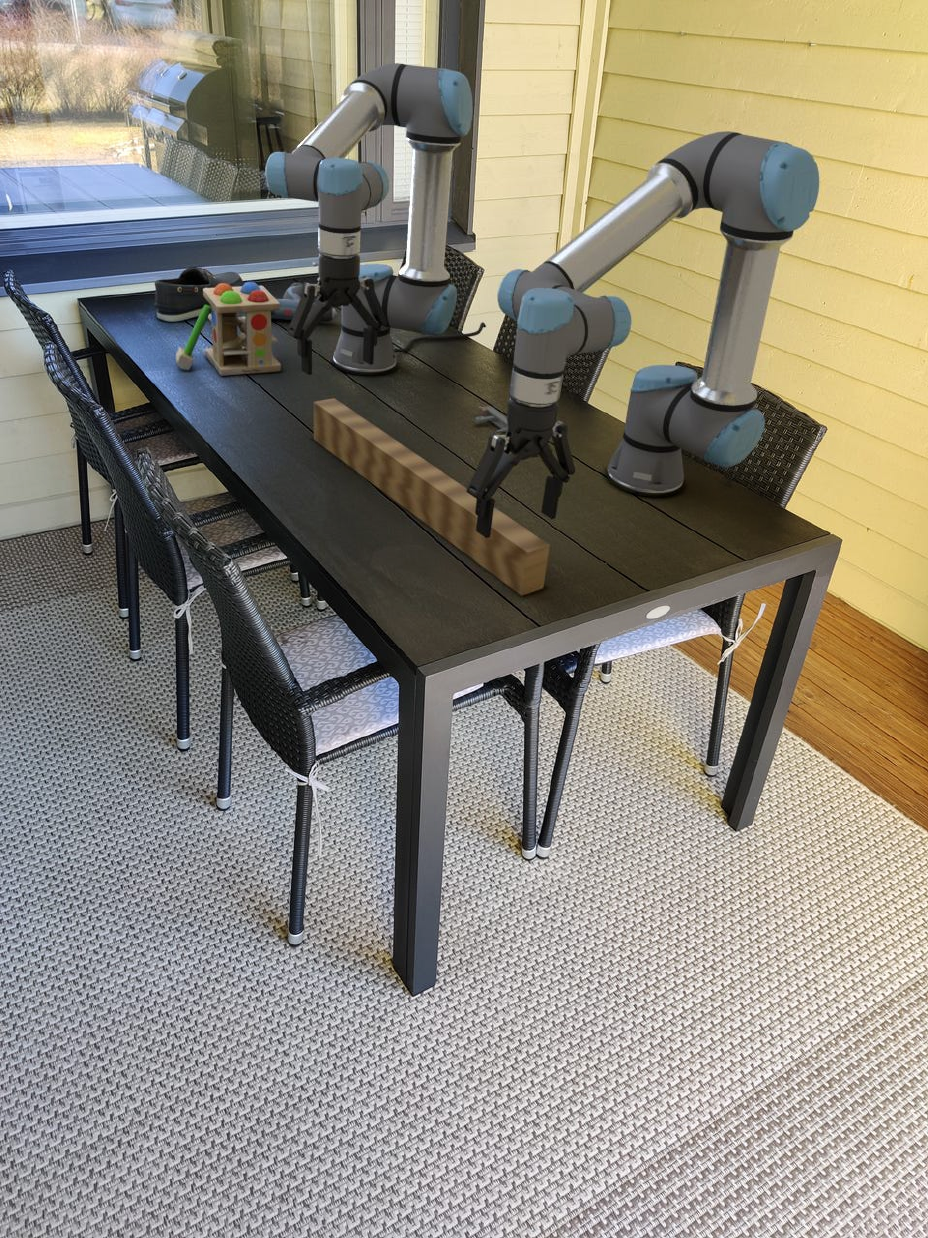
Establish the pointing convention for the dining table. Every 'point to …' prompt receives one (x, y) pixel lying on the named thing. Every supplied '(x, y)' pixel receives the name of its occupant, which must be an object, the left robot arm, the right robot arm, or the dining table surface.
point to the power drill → (291, 303)
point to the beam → (432, 497)
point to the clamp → (492, 418)
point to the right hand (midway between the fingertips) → (516, 524)
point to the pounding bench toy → (229, 347)
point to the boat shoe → (188, 292)
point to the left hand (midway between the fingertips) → (338, 367)
